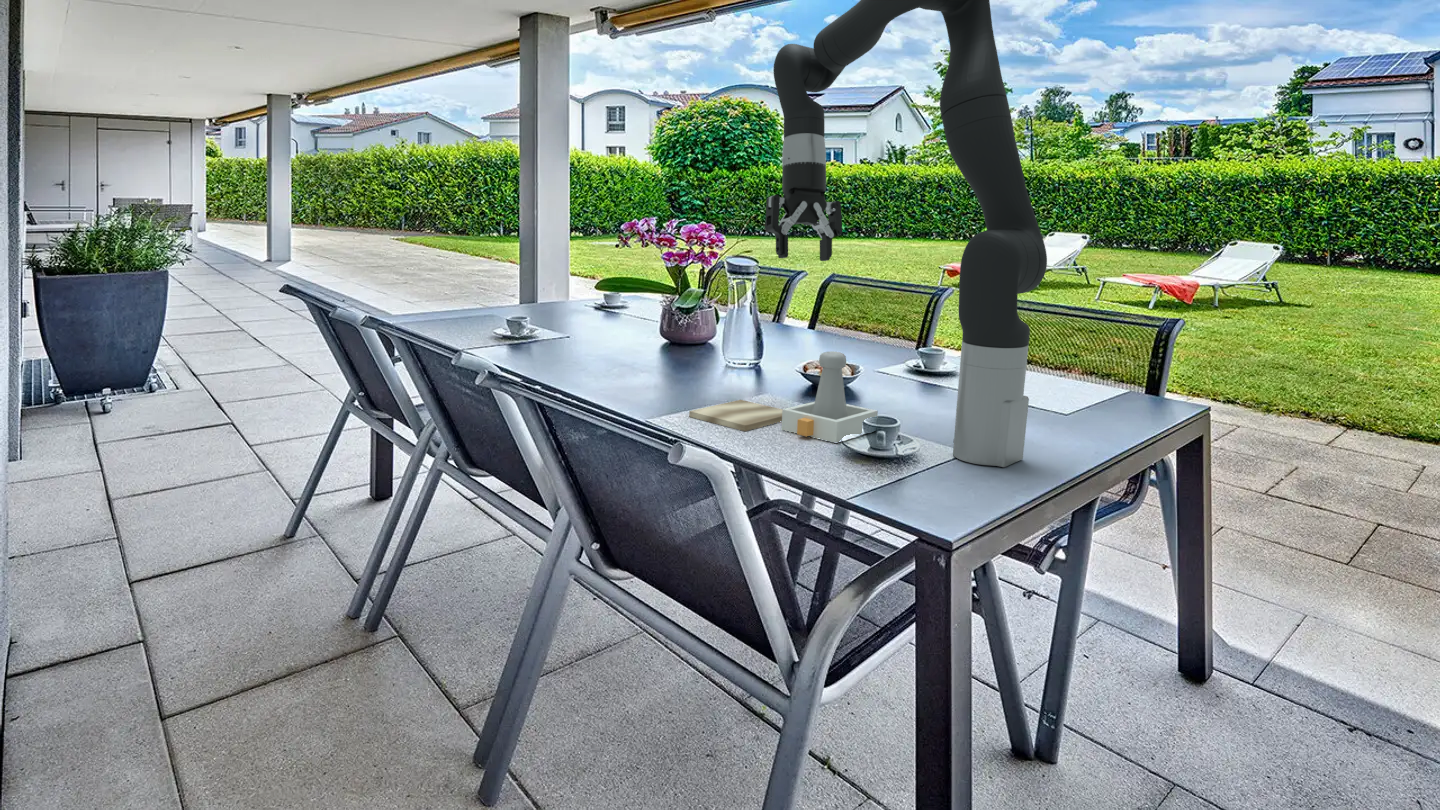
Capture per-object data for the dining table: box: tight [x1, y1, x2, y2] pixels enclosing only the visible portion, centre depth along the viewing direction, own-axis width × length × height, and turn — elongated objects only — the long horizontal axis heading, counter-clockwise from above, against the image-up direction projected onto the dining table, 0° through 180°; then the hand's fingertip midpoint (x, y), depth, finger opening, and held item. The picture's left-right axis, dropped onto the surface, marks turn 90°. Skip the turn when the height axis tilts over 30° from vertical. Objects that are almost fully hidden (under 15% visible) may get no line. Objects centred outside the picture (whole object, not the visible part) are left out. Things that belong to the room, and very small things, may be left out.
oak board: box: [688, 399, 783, 432], centre depth 153 cm, size 13×13×1 cm
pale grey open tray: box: [781, 400, 879, 442], centre depth 145 cm, size 11×13×4 cm
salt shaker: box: [812, 350, 848, 420], centre depth 144 cm, size 6×6×13 cm
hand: (804, 259), depth 155 cm, fingers open, 8 cm apart
